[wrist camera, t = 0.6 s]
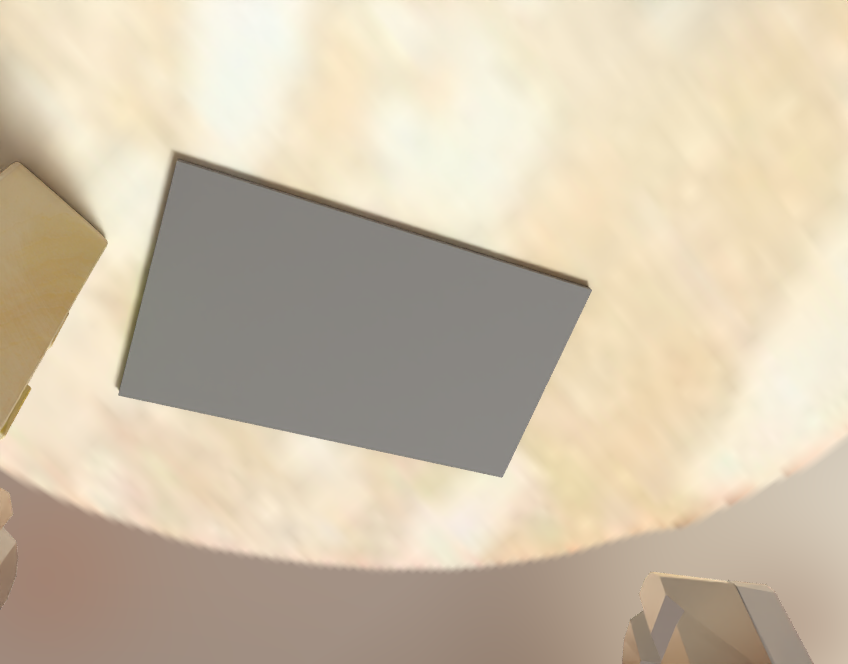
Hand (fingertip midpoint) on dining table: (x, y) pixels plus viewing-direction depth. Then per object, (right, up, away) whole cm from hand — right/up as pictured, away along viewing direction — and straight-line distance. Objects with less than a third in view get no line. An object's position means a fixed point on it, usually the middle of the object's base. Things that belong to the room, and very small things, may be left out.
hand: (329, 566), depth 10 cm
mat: (-3, +3, +41) cm, 41 cm away
